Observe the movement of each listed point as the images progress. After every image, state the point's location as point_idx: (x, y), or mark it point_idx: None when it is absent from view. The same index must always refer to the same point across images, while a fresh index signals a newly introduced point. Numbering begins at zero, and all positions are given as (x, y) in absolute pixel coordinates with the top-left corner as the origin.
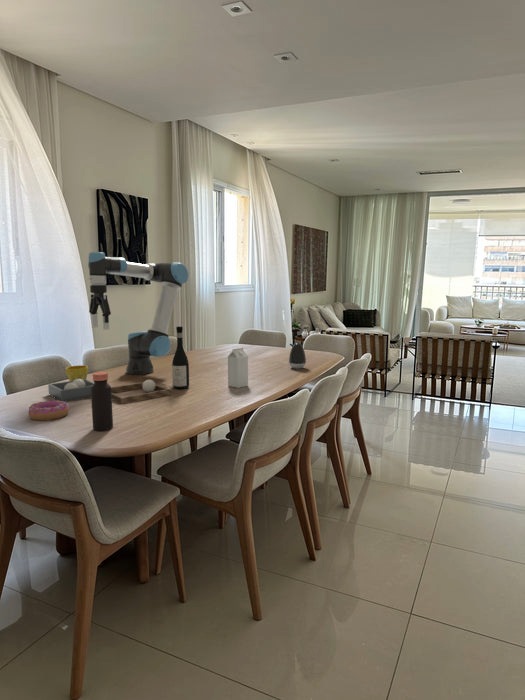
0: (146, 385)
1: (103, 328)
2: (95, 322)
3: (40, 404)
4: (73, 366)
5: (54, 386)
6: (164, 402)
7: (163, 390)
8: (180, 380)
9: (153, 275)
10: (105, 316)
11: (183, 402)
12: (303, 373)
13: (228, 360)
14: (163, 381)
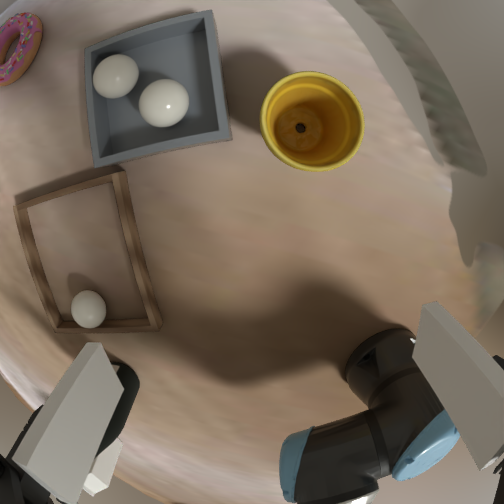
0: (72, 300)
1: (87, 350)
2: (444, 373)
3: (19, 28)
4: (359, 118)
5: (156, 25)
6: (14, 287)
7: (49, 317)
8: None
9: None
10: (7, 458)
11: (11, 314)
12: (168, 500)
13: (91, 466)
14: (213, 376)
